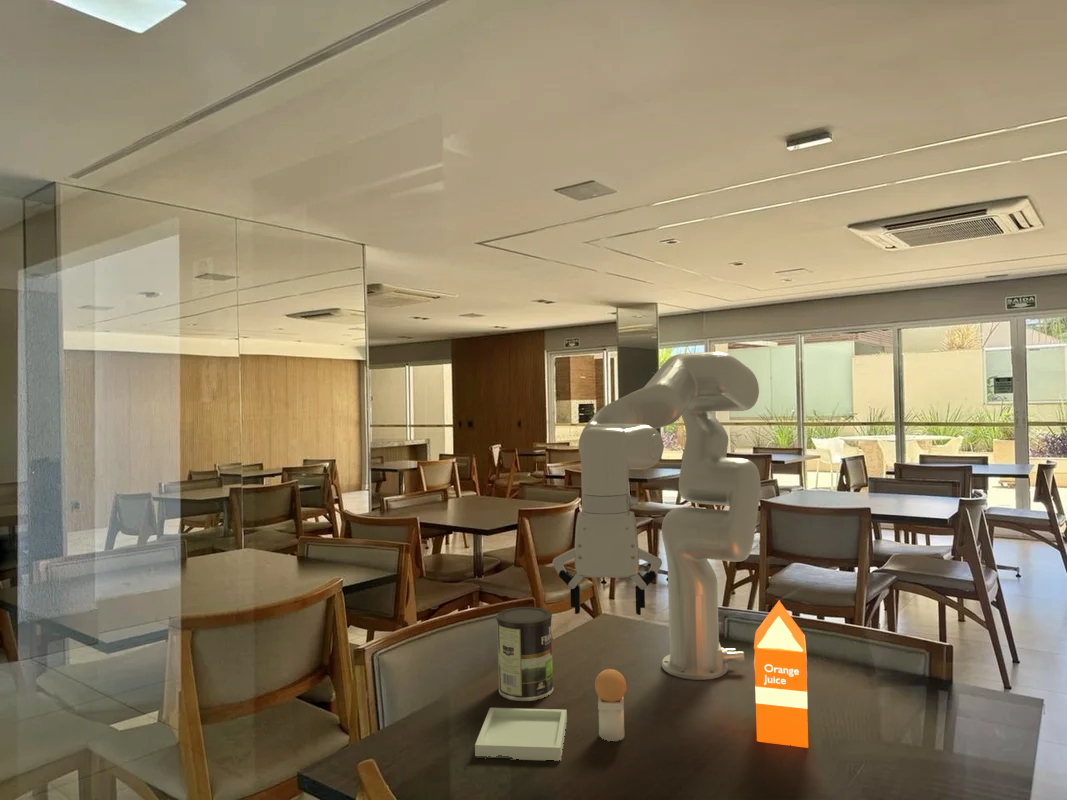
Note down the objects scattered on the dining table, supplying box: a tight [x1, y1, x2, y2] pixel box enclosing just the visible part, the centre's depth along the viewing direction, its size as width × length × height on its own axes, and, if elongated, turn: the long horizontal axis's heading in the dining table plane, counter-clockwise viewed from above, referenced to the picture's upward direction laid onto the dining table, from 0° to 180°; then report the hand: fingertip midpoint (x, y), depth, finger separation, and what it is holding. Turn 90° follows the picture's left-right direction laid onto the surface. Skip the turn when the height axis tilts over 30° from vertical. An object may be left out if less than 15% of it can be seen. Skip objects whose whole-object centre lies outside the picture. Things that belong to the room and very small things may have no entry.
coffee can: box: [495, 606, 554, 702], centre depth 135 cm, size 10×10×14 cm
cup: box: [597, 695, 625, 743], centre depth 116 cm, size 4×4×6 cm
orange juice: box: [753, 599, 809, 749], centre depth 116 cm, size 8×9×20 cm
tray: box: [474, 707, 568, 762], centre depth 115 cm, size 13×13×2 cm
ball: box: [594, 668, 627, 702], centre depth 116 cm, size 5×5×5 cm
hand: (607, 612), depth 116 cm, fingers open, 9 cm apart
